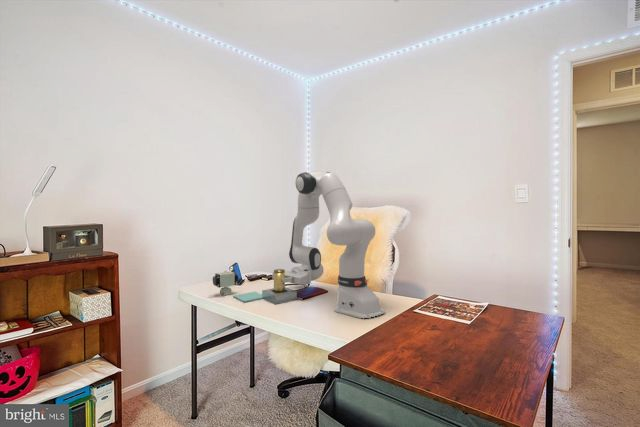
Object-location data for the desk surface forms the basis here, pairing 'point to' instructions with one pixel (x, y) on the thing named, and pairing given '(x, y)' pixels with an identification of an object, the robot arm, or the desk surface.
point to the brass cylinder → (279, 280)
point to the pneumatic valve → (225, 281)
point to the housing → (279, 296)
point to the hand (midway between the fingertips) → (277, 279)
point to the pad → (248, 297)
